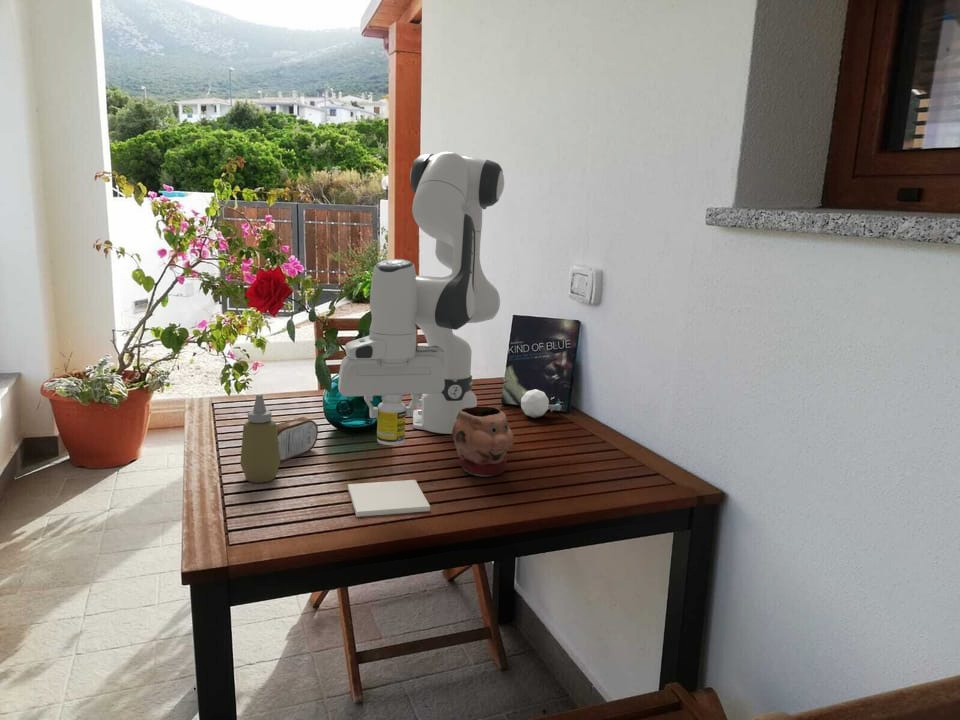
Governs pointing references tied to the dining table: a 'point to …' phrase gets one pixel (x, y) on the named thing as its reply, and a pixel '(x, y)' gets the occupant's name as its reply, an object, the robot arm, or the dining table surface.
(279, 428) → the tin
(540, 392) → the perfume bottle
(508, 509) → the dining table surface
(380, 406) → the supplement bottle
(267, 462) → the squeeze bottle
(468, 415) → the decorative planter
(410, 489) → the tile
